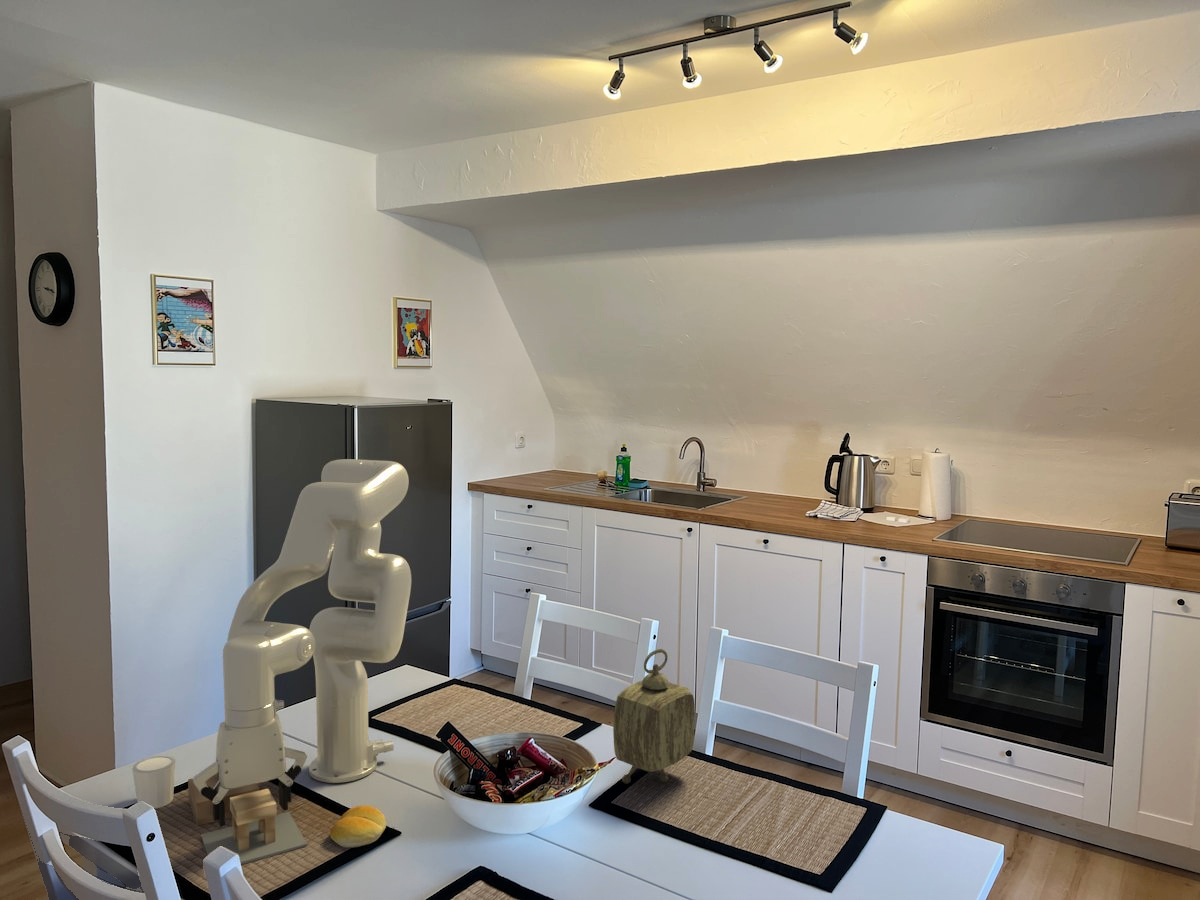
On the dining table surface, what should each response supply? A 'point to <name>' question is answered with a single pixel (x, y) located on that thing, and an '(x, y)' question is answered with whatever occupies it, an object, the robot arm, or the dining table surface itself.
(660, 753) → the tabletop clock
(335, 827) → the bread roll
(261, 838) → the mat
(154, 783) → the cream cup
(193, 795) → the step
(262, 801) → the stool
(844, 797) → the dining table surface
